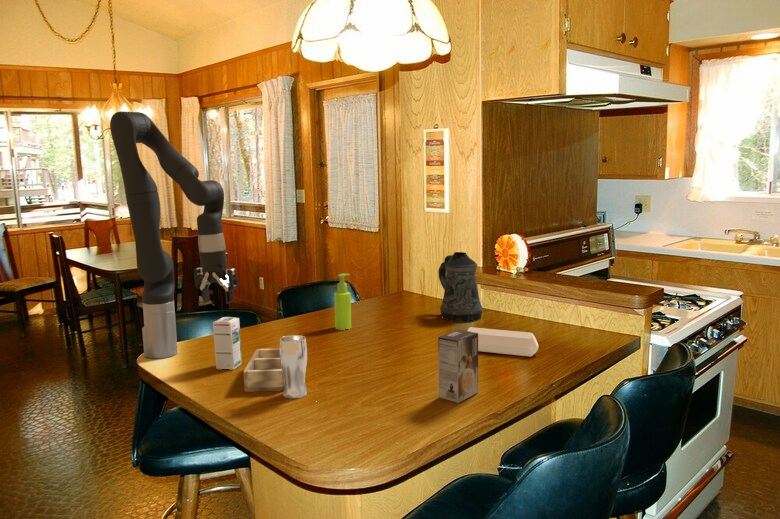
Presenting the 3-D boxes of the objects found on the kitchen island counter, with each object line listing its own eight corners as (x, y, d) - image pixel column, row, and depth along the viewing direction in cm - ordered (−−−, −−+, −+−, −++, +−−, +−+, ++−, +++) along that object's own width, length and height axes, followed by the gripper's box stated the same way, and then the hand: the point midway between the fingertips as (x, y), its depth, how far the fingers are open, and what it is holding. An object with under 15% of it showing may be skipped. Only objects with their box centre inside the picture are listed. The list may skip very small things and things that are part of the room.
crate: (244, 391, 159) (243, 371, 158) (257, 366, 179) (256, 349, 178) (286, 390, 159) (285, 370, 158) (294, 365, 179) (294, 348, 178)
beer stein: (475, 323, 225) (475, 257, 221) (426, 318, 233) (426, 254, 229) (487, 313, 239) (488, 251, 236) (441, 309, 248) (441, 249, 244)
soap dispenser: (356, 326, 222) (355, 273, 219) (344, 331, 217) (343, 276, 214) (343, 324, 226) (342, 271, 223) (332, 328, 220) (330, 274, 217)
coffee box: (458, 387, 160) (458, 328, 158) (478, 393, 156) (479, 332, 153) (437, 397, 153) (437, 336, 151) (458, 403, 149) (458, 340, 147)
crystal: (541, 338, 191) (467, 331, 200) (538, 332, 185) (462, 325, 194) (539, 361, 188) (464, 353, 197) (536, 356, 182) (459, 348, 191)
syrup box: (234, 370, 176) (231, 322, 174) (215, 369, 177) (212, 321, 175) (242, 364, 181) (240, 317, 179) (224, 363, 182) (221, 316, 180)
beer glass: (296, 401, 152) (294, 343, 149) (275, 396, 155) (273, 339, 153) (314, 392, 158) (312, 336, 155) (293, 387, 161) (291, 333, 159)
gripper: (184, 250, 178) (191, 304, 180) (223, 251, 172) (229, 306, 174) (202, 246, 184) (208, 298, 187) (239, 247, 178) (245, 300, 181)
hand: (218, 302), depth 181 cm, fingers open, 8 cm apart
